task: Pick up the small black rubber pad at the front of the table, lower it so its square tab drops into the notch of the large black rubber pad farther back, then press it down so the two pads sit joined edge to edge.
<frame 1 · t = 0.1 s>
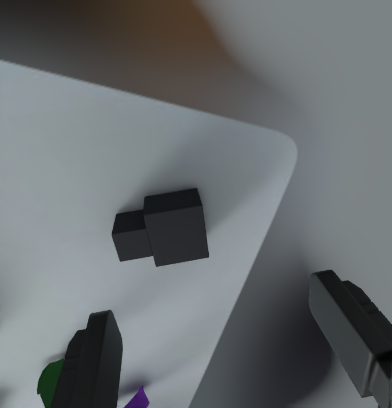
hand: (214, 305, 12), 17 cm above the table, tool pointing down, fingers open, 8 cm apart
small pad: (175, 217, 29), on the table
flower: (89, 377, 39), on the table
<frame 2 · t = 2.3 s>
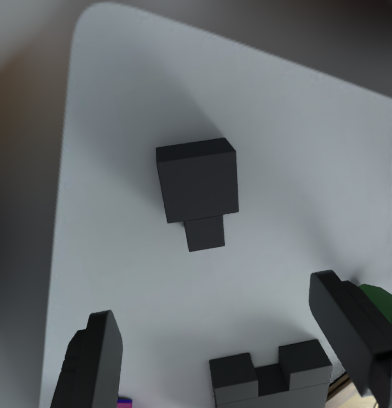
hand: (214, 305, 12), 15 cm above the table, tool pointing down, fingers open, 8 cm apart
picture frame: (387, 394, 46), on the table
small pad: (194, 171, 25), on the table
base pad: (264, 378, 40), on the table
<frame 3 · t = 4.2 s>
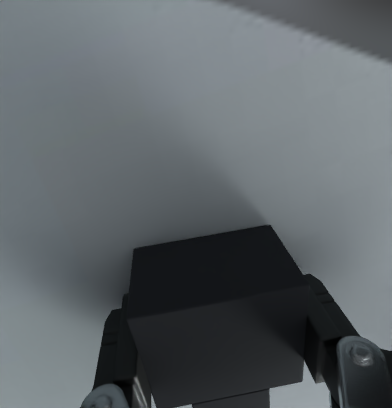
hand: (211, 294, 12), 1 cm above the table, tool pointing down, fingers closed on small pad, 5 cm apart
small pad: (209, 282, 13), on the table, touching gripper
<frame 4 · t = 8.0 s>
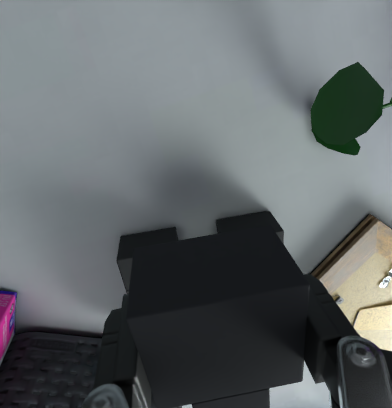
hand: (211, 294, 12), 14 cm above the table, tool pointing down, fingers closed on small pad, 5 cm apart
picture frame: (371, 310, 37), on the table
storage bin: (81, 406, 38), on the table, touching supplement box
small pad: (209, 282, 13), point 13 cm above the table, touching gripper
base pad: (203, 272, 30), on the table
flower: (377, 82, 24), on the table
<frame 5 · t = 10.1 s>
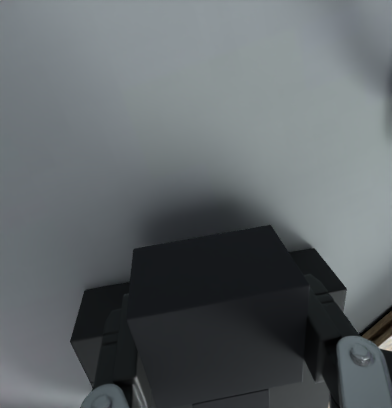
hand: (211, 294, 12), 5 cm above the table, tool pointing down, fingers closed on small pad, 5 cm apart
small pad: (209, 282, 13), point 4 cm above the table, touching gripper
base pad: (211, 334, 21), on the table
when the fingers open (1 cm above the table, at t = 11.6 s): small pad stays where it is, on the table.
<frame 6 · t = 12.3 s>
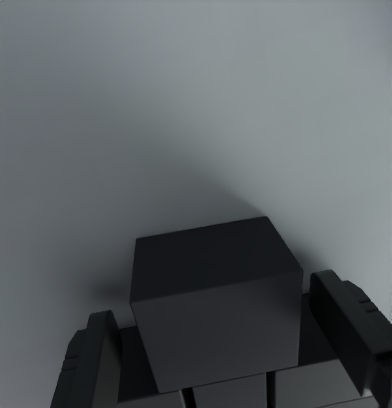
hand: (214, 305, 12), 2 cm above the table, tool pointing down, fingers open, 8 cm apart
small pad: (208, 272, 14), on the table
base pad: (222, 382, 18), on the table
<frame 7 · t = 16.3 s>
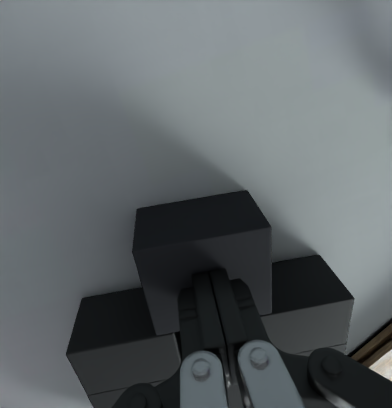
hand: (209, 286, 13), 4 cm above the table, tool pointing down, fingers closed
small pad: (198, 239, 16), on the table, touching gripper
base pad: (213, 343, 20), on the table
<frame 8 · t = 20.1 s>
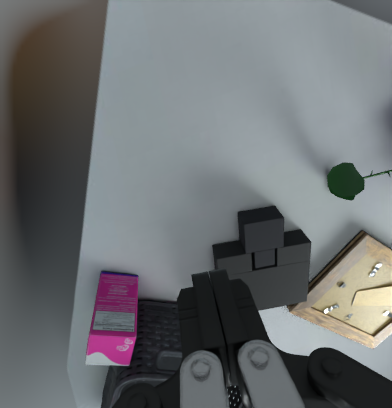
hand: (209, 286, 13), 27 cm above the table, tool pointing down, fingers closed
picture frame: (364, 292, 55), on the table
storage bin: (164, 356, 56), on the table, touching supplement box
supplement box: (118, 285, 47), on the table, touching storage bin
small pad: (256, 223, 44), on the table
base pad: (258, 267, 48), on the table
flower: (365, 158, 42), on the table
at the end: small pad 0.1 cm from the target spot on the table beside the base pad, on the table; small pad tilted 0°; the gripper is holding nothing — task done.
